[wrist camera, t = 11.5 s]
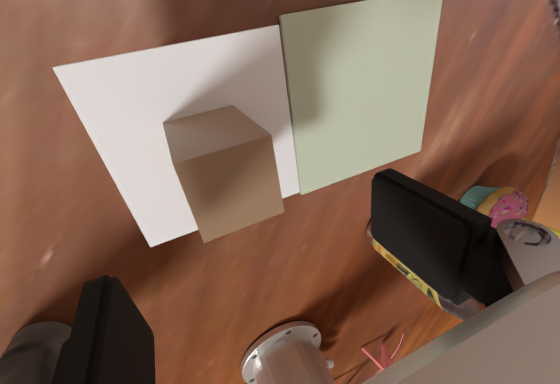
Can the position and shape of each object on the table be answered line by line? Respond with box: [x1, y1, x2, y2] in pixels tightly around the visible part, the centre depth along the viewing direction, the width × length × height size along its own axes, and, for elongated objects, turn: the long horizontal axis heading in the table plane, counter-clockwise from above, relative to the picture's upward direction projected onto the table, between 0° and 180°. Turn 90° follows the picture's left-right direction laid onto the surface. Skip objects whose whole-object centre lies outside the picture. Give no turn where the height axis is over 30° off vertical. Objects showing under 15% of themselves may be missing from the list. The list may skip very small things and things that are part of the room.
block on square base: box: [52, 25, 300, 247], centre depth 15 cm, size 11×11×7 cm
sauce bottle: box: [366, 221, 480, 321], centre depth 30 cm, size 7×6×20 cm
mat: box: [279, 0, 442, 195], centre depth 27 cm, size 16×16×1 cm
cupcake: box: [460, 186, 560, 237], centre depth 39 cm, size 9×8×12 cm
